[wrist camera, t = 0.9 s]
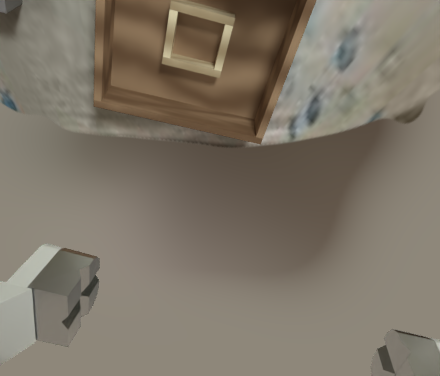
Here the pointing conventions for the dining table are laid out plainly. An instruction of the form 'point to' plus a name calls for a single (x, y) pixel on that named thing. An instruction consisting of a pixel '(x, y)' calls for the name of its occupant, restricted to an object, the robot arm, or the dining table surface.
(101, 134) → the dining table surface
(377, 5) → the dining table surface
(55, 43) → the dining table surface
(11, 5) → the plain grey cube
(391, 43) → the dining table surface
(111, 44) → the walled box
